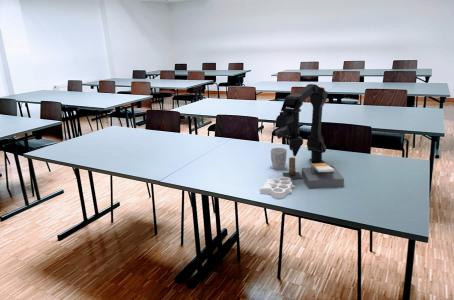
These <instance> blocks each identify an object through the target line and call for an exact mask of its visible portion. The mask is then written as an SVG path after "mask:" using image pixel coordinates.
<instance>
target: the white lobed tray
mask: <svg viewBox="0 0 454 300" xmlns="http://www.w3.org/2000/svg"><path fill="white" fill-rule="evenodd" d="M294 187H296V185H294V184H293V182H292V180H291V178H289V177H284V176H280V177H278V178H277V177H276V178H267V179H265V181H264V183H263V184H262V186H261V188H260V189H259V192H260V194H263V195H270V196H271V197H272V198H274V199H277V200H280V199H285V198H286V196H288V195H290V194H291V193H293V188H294Z"/></svg>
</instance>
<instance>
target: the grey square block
mask: <svg viewBox="0 0 454 300" xmlns="http://www.w3.org/2000/svg"><path fill="white" fill-rule="evenodd" d="M329 166H330V167H332V168H333V169H334V171H331V172H318V171H317V170H315V167H314V166H313V165H311V164H310V166H309V167H308V166H307V167H301V178H302V179H303V180H304V183H305V184H306V186H307V188H308V189H309V190H310V189H325V188H327V189H328V188H344V187H345V186H344V184H345V178H344V176H342V174H341V173H340V172H339V170H338V169H337V168H336V167H335V166H334V165H333V164H332V163H329Z"/></svg>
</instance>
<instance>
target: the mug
mask: <svg viewBox="0 0 454 300" xmlns="http://www.w3.org/2000/svg"><path fill="white" fill-rule="evenodd" d="M287 155H288V154H287V149H286V148H284V147H273V148H271V149H270V159H271V164H272V168H273V169H274V170H283V169H285V167H286V161H287Z"/></svg>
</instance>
